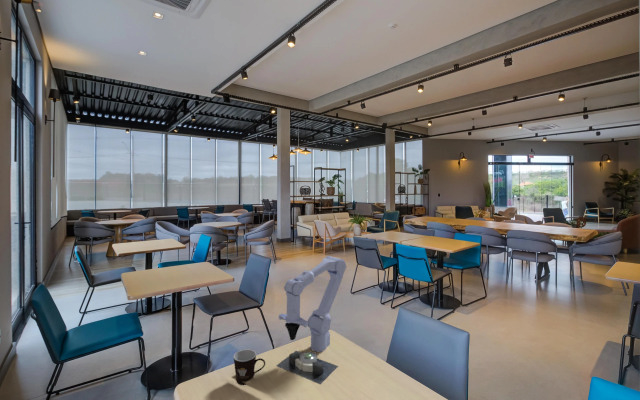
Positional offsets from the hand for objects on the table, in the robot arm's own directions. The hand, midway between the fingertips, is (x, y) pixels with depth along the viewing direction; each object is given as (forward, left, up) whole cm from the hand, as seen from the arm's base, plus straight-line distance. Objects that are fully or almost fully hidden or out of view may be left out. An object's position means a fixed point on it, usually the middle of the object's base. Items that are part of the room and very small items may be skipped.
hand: (292, 339), depth 131 cm
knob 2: (+2, +12, -9) cm, 15 cm away
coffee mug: (+20, -7, -11) cm, 23 cm away
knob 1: (+2, +4, -9) cm, 10 cm away
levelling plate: (+1, +8, -10) cm, 13 cm away
